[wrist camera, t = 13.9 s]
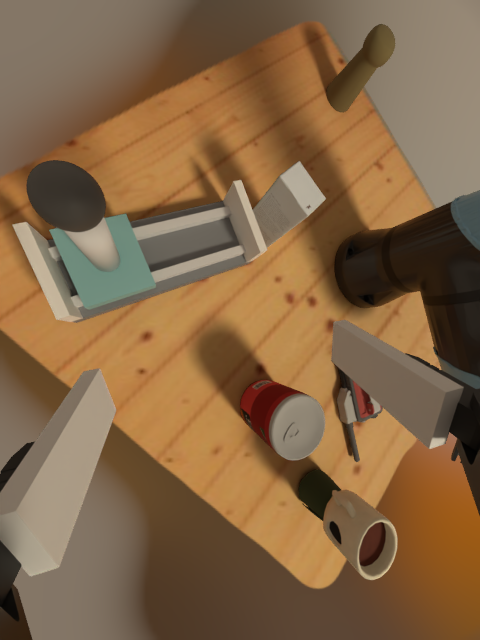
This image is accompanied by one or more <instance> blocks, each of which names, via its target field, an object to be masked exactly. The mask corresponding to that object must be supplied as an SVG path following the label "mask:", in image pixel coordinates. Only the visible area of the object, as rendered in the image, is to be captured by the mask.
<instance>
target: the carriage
mask: <svg viewBox="0 0 480 640" xmlns="http://www.w3.org/2000/svg"><path fill="white" fill-rule="evenodd" d="M27 194H28V198H29V200H30V203H31V204H32V206H33V208H34V209H35V211H36V212H37V213H38V214H39V215H40V216H41V217H42V218H43V219H44V220H45V221H46V222H48V223H49V224H51V225H53V226H55V227H57V228H56V229H51V230H49V231H50V233H51V235H52V237H53V239H54V242H55V244H56V246H57V248H58V250H59V253H60V255H61V257H62V259H63V261H64V264H65V266H66V268H67V270H68V272H69V275H70V277H71V279H72V281H73V283H74V286H75V288H76V290H77V292H78V294H79V297H80V299H81V301H82V303H83V305H84V307H85V308H86V309H89V310H90V309H93V308H96V307H99V306H102V305H105V304H108V303H111V302H114V301H117V300H120V299H123V298H126V297H129V296H132V295H135V294H138V293H141V292H144V291H147V290H150V289H153V288H156V284H155V281H154V279H153V276H152V274H151V272H150V269H149V267H148V265H147V262H146V260H145V258H144V255H143V253H142V251H141V248H140V246H139V243H138V241H137V239H136V236H135V234H134V232H133V229H132V227H131V225H130V222H129V220H128V217H127V215H126V214H122V215H117V216H112V217H108V218H104V214H105V208H106V203H105V198H104V194H103V192H102V190H101V188H100V186H99V185H98V183H97V182H96V181H95V179H94V178H93V177H92V176H91V175H90V174H89V173H87V172H86V171H85V170H83V169H82V168H80V167H78V166H76V165H74V164H72V163H69V162H65V161H58V160H53V161H46V162H43V163H41V164H39V165H37V166H36V167H35V168H34V169H33V170H32V171H31V172H30V174H29V176H28V180H27Z"/></svg>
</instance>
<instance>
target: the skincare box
mask: <svg viewBox="0 0 480 640" xmlns="http://www.w3.org/2000/svg"><path fill="white" fill-rule="evenodd" d="M325 199H326V198H325V196H324V195H323V194H322V192H321V191H320V190H319V188H318V187H317V185H316V184H315V182H314V181H313V180H312V178H311V177H310V175H309V174H308V172H307V171H306V170H305V168H304V167H303V165H302V164H301V162H300V161H298V162H297V163H296V164H294V165H293V166H292V167H290V168H289V169H288V170H286V171H285V172H284V173H282V174H281V175H280V176H279V177H278V178H277V180H276V181H275V182H274V183H273V185H272V186H271V187H270V189H269V190H268V191H267V192H266V194H265V195H264V196H263V197H262V199H261V200H260V201H259V202H258V204H257V205H256V206H255V207H254V209H253V213H254V215H255V218H256V221H257V223H258V226H259V229H260V231H261V234H262V237H263V239H264V242H265V245H266V247H269V246H270V245H271V244H273V243H274V242H275V241H276V240H278V239H279V238H280V237H282V236H283V235H284V234H286V233H287V232H288V231H290V230H291V229H292V228H293V227H295V226H296V225H297V224H299V223H300V222H301V221H302V220H304V219H305V218H307V217H308V216H309V215H310V214H311V213H312V212H313V211H314V210H315V209H316V208H317V207H318V206H319V205H320V204H321V203H322V202H323V201H324V200H325Z"/></svg>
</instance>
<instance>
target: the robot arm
mask: <svg viewBox="0 0 480 640" xmlns="http://www.w3.org/2000/svg"><path fill="white" fill-rule="evenodd" d="M335 274H336V279H337V282H338V285H339V287H340V289H341V291H342V293H343V294H344V296H345V297H346V298H347V299H348V300H349V301H350V302H351V303H353V304H354V305H356V306H359V307H363V308H370V307H378V306H382V305H384V304H386V303H388V302H391V301H393V300H395V299H397V298H399V297H401V296H403V295H405V294H407V293H410V292H417V291H420V292H421V296H422V299H423V304H424V308H425V312H426V316H427V320H428V324H429V328H430V332H431V336H432V340H433V344H434V347H433V349H434V352H435V354H436V356H437V357H438V360H439V363H440V366H441V369H442V370H439V368H437V367H435V366H433V365H430V363H428V362H426V361H424V360H422V359H421V358H419V357H416V356H413V355H410V354H407V353H405V354H404V353H403V352H401V351H399V350H397V349H396V348H394V347H392V346H390V345H389V344H387V343H385V342H383V341H382V340H380V339H378V338H376V337H375V336H373V335H371V334H369V333H367V332H366V331H364V330H362V329H360V328H359V327H357V326H355V325H353V324H352V323H350V322H348V321H346V320H341V321H336V322H334V325H333V343H332V362H333V363H334V364H335V365H336V366H337V367H339V368H340V369H341V370H342V371H343V372H344V373H345V374H346V375H347V376H349V377H350V378H351V379H352V380H353V381H354V382H355V383H356V384H358V385H359V386H360V387H361V388H362V389H363V390H364V391H365V392H366V393H368V394H369V395H370V396H371V397H372V398H373V399H374V400H375V401H376V402H378V403H379V404H380V405H381V406H382V407H383V408H384V409H385V410H386V411H388V412H389V413H390V414H391V415H392V416H393V417H394V418H395V419H396V420H398V421H399V422H400V423H401V424H402V425H403V426H404V427H405V428H406V429H408V430H409V431H410V432H411V433H412V434H413V435H414V436H415V437H416V438H418V439H419V440H420V441H421V442H422V443H423V444H424V445H425V446H426V447H428V448H429V449H430V448H433V447H437V446H440V445H443V444H445V443H446V440H447V437H448V434H449V432H450V433H452V434H453V435H454V436H455V437H457V441H456V444H455V447H454V450H453V453H452V457H451V459H452V461H455V460H456V458H457V456H458V455H459V456H460V459H461V463H462V465H463V467H464V471H465V474H466V477H467V480H468V482H469V485H470V488H471V491H472V494H473V497H474V500H475V503H476V506H477V509H478V512H479V515H480V190H479V191H477V192H474V193H471V194H469V195H463V196H460V197H458V198H456V199H455V200H454V201H452V202H450V203H448V204H446V205H443V206H441V207H439V208H437V209H434V210H432V211H430V212H427V213H425V214H423V215H421V216H418V217H416V218H414V219H411V220H409V221H407V222H404V223H402V224H400V225H398V226H395V227H393V228H387V229H378V230H368V231H362V232H359V233H357V234H355V235H353V236H350V237H349V238H347V239H346V240H345V241H344V242H343V243H342V244H341V245H340V247H339V249H338V251H337V254H336V259H335ZM115 413H116V408H115V405H114V403H113V400H112V398H111V395H110V393H109V390H108V388H107V385H106V383H105V380H104V378H103V375H102V372H101V370H100V368H99V369H94V370H89V371H84V372H83V373H82V375H81V376H80V377H79V379H78V380H77V382H76V383H75V385H74V386H73V388H72V389H71V390H70V392H69V393H68V395H67V397H66V398H65V399H64V401H63V402H62V404H61V405H60V407H59V408H58V409H57V411H56V412H55V414H54V415H53V417H52V418H51V420H50V421H49V423H48V424H47V425H46V427H45V428H44V430H43V431H42V433H41V434H40V435H39V437H38V438H37V440H36V441H35V442H31V443H27V444H26V445H24V446H23V447H22V448H21V449H20V450H19V451H18V452H17V453H15V454H14V455H13V456H12V457H11V459H10V460H9V461H8V462H7V464H6V465H5V466H4V468H3V469H2V470H1V474H0V640H32V637H31V634H30V630H29V627H28V623H27V620H26V616H25V613H24V609H23V606H22V603H21V600H20V596H19V593H18V589H17V588H16V587H15V586H14V585H13V582H14V580H15V578H16V576H17V574H18V572H19V570H20V567H22V568H23V569H24V570H25V571H26V572H27V573H28V575H29V576H34V575H37V574H40V573H43V572H46V571H49V570H53V569H56V568H58V567H59V566H60V564H61V561H62V558H63V555H64V553H65V550H66V547H67V544H68V542H69V539H70V536H71V533H72V530H73V528H74V525H75V522H76V520H77V517H78V514H79V511H80V509H81V506H82V503H83V500H84V498H85V495H86V492H87V489H88V487H89V484H90V481H91V478H92V476H93V473H94V470H95V467H96V465H97V462H98V459H99V456H100V454H101V451H102V448H103V445H104V443H105V440H106V437H107V434H108V432H109V429H110V426H111V424H112V421H113V418H114V415H115Z"/></svg>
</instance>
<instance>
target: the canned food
mask: <svg viewBox="0 0 480 640" xmlns="http://www.w3.org/2000/svg"><path fill="white" fill-rule="evenodd" d="M240 410H241V415H242V418H243V420H244V421H245V423H246V424H247V425H248V426H249V427H250V428H251V429H252V430H253V431H254V432H255V433H257V434H258V435H259V436H260V437H261V438H262V439H263V440H264V441H265V442H266V443H267V444H268V445H269V446H270V447H271V448H272V449H273V450H274V451H275V452H277V453H278V454H279V455H280V456H282V457H283V458H285V459H287V460H300V459H303V458H305V457H307V456H309V455H310V454H311V453H312V452H313V451H314V450H315V449H316V448H317V446H318V445H319V443H320V441H321V439H322V437H323V433H324V429H325V416H324V412H323V409H322V407H321V405H320V404H319V402H318V401H316V400H315V399H314V398H312V397H311V396H309V395H307V394H304V393H302V392H300V391H297V390H294V389H292V388H289V387H287V386H284V385H281V384H279V383H276V382H274V381H271V380H260V381H257V382H254V383H253V384H251V385H250V386H249V387H248V388H247V389H246V390H245V392H244V393H243V395H242V398H241V402H240Z"/></svg>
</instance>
